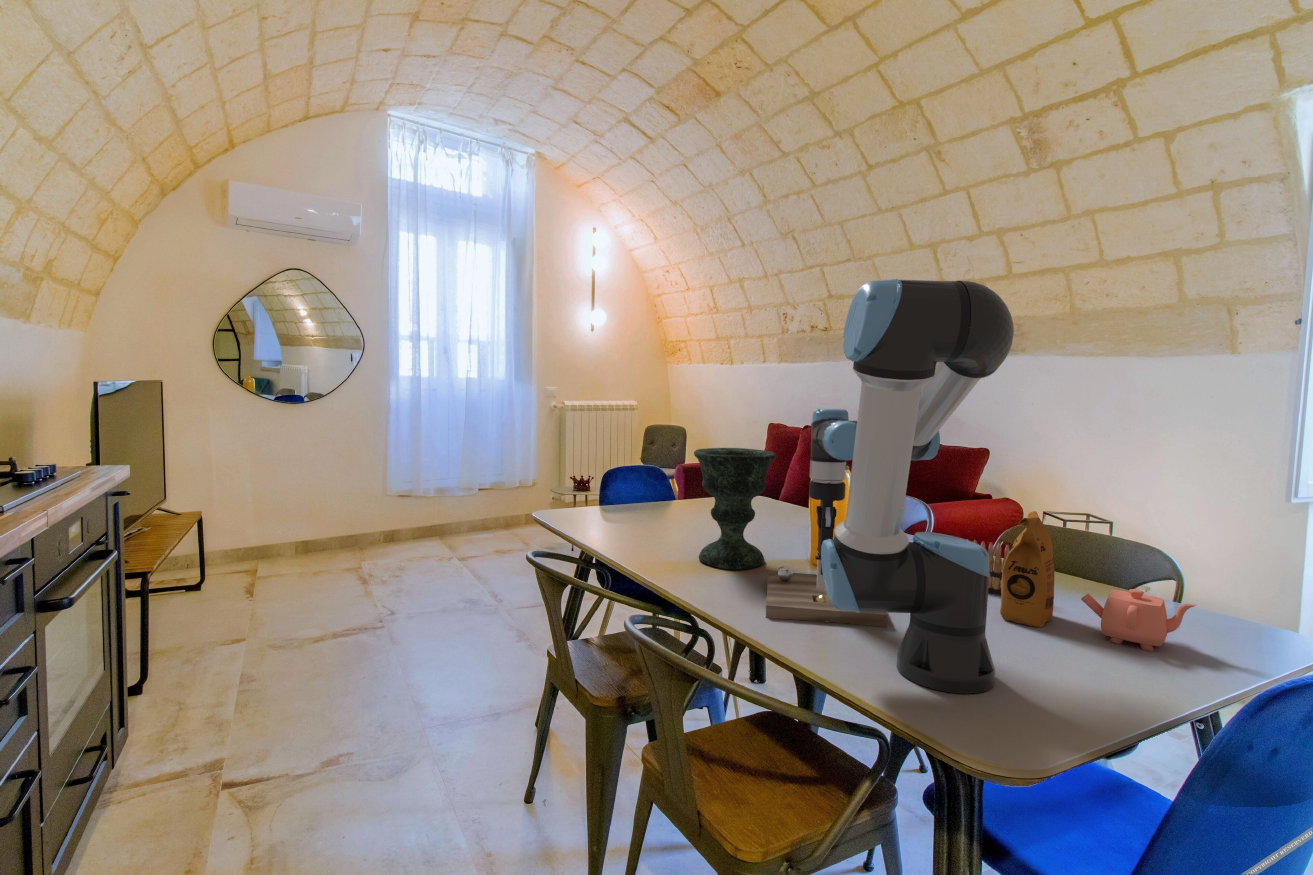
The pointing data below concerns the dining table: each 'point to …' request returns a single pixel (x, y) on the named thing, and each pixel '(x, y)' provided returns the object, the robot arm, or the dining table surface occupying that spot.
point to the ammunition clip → (995, 567)
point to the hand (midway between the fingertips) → (823, 587)
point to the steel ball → (785, 573)
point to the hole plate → (810, 602)
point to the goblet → (733, 502)
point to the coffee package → (1029, 576)
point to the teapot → (1136, 617)
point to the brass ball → (822, 598)
